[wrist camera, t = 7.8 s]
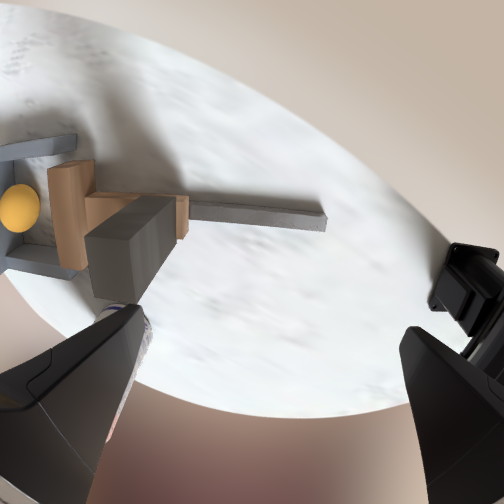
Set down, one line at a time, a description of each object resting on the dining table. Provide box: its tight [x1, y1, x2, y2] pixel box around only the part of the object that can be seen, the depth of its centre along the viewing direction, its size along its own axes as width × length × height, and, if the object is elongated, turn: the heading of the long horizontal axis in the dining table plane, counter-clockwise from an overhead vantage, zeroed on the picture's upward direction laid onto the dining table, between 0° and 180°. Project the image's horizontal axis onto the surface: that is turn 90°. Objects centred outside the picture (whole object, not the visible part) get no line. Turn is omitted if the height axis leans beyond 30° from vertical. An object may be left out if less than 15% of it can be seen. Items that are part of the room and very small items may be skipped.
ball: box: [0, 184, 40, 232], centre depth 18 cm, size 4×4×4 cm
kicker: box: [47, 160, 189, 304], centre depth 15 cm, size 9×7×8 cm
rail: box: [189, 201, 327, 232], centre depth 19 cm, size 10×1×1 cm, turn 86°
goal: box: [0, 134, 79, 281], centre depth 17 cm, size 9×11×6 cm
